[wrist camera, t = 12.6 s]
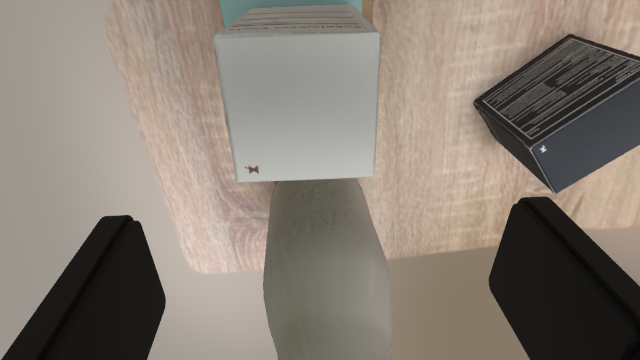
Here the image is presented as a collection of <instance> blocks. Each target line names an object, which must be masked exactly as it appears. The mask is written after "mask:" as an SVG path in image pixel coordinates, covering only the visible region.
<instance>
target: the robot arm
mask: <svg viewBox="0 0 640 360" xmlns="http://www.w3.org/2000/svg"><path fill="white" fill-rule="evenodd" d="M489 286H490V290H491V292H492V294H493V296H494V297H495V299H496V301H497V302H498V304H499V306H500V308H501V310H502V311H503V313H504V315H505V317H506V318H507V320H508V322H509V324H510V325H511V327H512V329H513V331H514V332H515V334H516V336H517V337H518V339H519V341H520V343H521V344H522V346H523V348H524V350H525V351H526V353H527V355H528V357H529V358H530V360H640V286H639V285H638V284H637V283H636V282H635V281H634V280H633V279H632V278H631V277H630V276H629V275H627V273H625V272H624V271H623V270H622V269H621V268H620V267H619V266H618V265H617V264H616V263H615V262H614V261H613V260H612V259H611V258H610V257H609V256H608V255H607V254H606V253H605V252H604V251H603V250H602V249H601V248H600V247H599V246H598V245H597V244H596V243H595V242H594V241H593V240H592V239H591V238H590V237H589V236H588V235H587V234H586V233H584V231H583V230H582V229H581V228H580V227H579V226H578V225H577V224H575V223H574V222H573V221H572V220H571V219H570V218H569V217H568V216H567V215H566V214H565V213H564V212H563V211H562V210H561V209H560V208H559V207H558V206H557V205H556V204H555V203H554V202H553V201H552V200H551V199H550V198H548V197H524V198H521V199H520V200H519V201H518V203H516V204H514V205H513V206H512V208H511V211H510V214H509V217H508V220H507V224H506V227H505V230H504V233H503V236H502V239H501V242H500V245H499V248H498V251H497V255H496V258H495V261H494V264H493V267H492V270H491V273H490V276H489ZM165 302H166V300H165V294H164V291H163V288H162V285H161V282H160V279H159V276H158V273H157V270H156V267H155V264H154V261H153V258H152V256H151V252H150V250H149V246H148V243H147V241H146V237H145V234H144V232H143V229H142V226H141V223H140V222H139V221H134V220H133V218H132V217H131V216H129V215H122V216H105V217H102V218H101V219H100V221H99V222H98V223H97V225H96V226H95V228H94V229H93V230H92V232H91V233H90V235H89V236H88V238H87V239H86V240H85V242H84V243H83V245H82V246H81V247H80V249H79V250H78V252H77V253H76V255H75V256H74V257H73V259H72V260H71V262H70V263H69V264H68V266H67V267H66V269H65V270H64V272H63V273H62V275H61V276H60V277H59V279H58V280H57V281H56V283H55V284H54V286H53V287H52V289H51V290H50V291H49V293H48V294H47V296H46V297H45V299H44V300H43V301H42V303H41V304H40V306H39V307H38V308H37V310H36V311H35V313H34V314H33V316H32V317H31V318H30V320H29V321H28V323H27V324H26V325H25V327H24V328H23V330H22V331H21V332H20V334H19V335H18V337H17V338H16V340H15V341H14V343H13V344H12V345H11V347H10V348H9V349H8V351H7V353H6V354H5V355H4V357H3V358H2V359H1V360H147V358H148V355H149V352H150V349H151V346H152V344H153V341H154V338H155V335H156V332H157V329H158V327H159V324H160V321H161V318H162V315H163V312H164V309H165Z"/></svg>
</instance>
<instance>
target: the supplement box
mask: <svg viewBox="0 0 640 360" xmlns="http://www.w3.org/2000/svg"><path fill="white" fill-rule="evenodd" d="M213 47H214V53H215V59H216V65H217V70H218V76H219V82H220V88H221V94H222V100H223V106H224V113H225V121H226V126H227V129H228V135H229V141H230V147H231V153H232V159H233V165H234V171H235V179H236V182H238V183H244V182H262V181H287V180H314V179H338V178H362V177H372V176H373V175H374V167H375V153H376V134H377V115H378V91H379V69H380V32H379V31H378V30H377V29H376V28H375V27H374V26H373V25H372V24H371V23H370V22H369V21H368V20H367V19H366V18H365V17H364V16H363V15H362V14H361V13H359V11H358V10H356V8H355V7H354V6H352V5H351V4H341V5H314V6H288V7H264V8H252V9H250V10H249V11H247V12H246V13H244V14H243V15H242V16H240V17H239V18H237V19H236V20H235V21H233V22H232V23H231V24H230V25H228V26H227V27H226V28H224V29H223V30H221V31H220V32H217V33H215V34H214V35H213Z"/></svg>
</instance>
